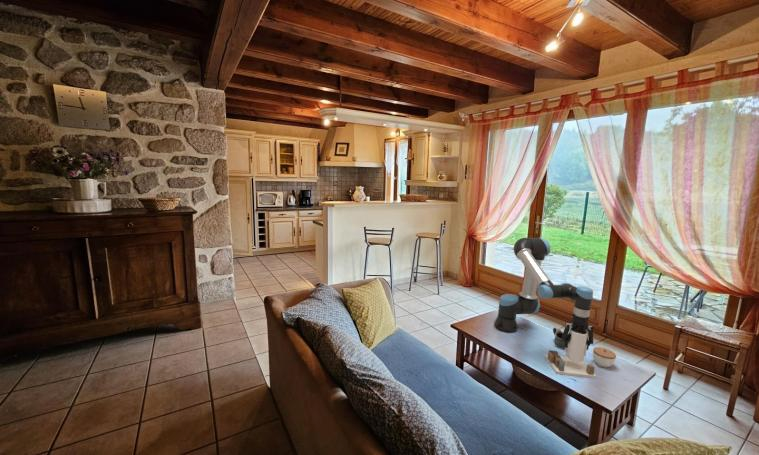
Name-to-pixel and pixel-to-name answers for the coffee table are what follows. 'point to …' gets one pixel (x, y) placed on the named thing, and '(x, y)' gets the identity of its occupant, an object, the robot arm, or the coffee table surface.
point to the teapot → (558, 337)
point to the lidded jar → (603, 357)
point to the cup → (577, 346)
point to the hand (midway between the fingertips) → (575, 353)
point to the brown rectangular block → (556, 358)
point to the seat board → (571, 367)
